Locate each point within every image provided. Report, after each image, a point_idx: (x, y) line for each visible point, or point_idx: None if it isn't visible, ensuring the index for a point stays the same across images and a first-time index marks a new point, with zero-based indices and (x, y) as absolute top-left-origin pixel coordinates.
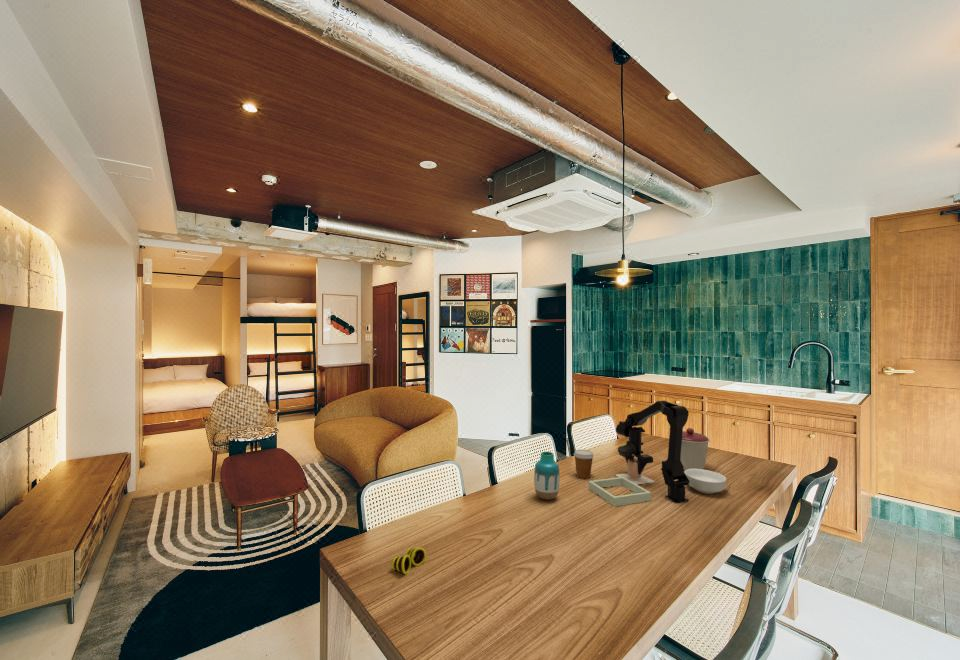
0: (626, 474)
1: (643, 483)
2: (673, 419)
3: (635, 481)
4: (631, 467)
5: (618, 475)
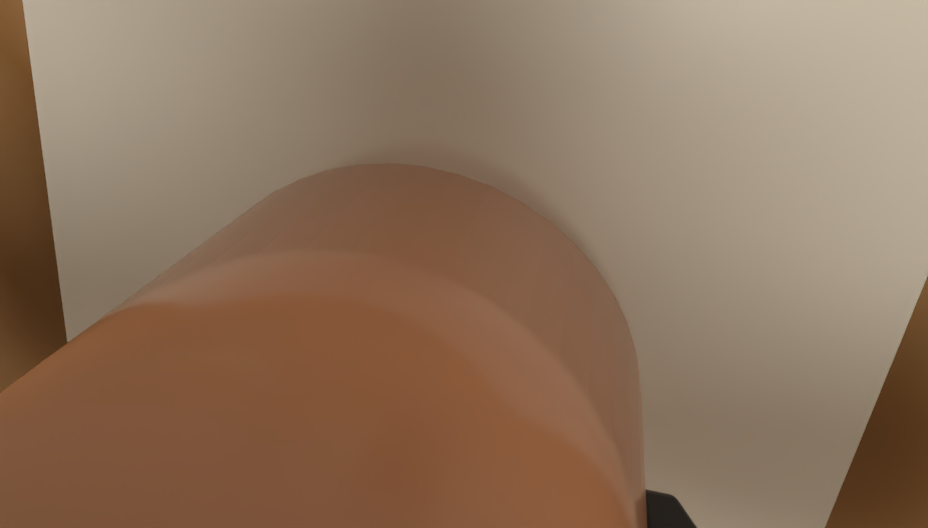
0: (777, 372)
1: (60, 252)
2: None
3: (209, 154)
4: (103, 352)
5: (888, 36)
